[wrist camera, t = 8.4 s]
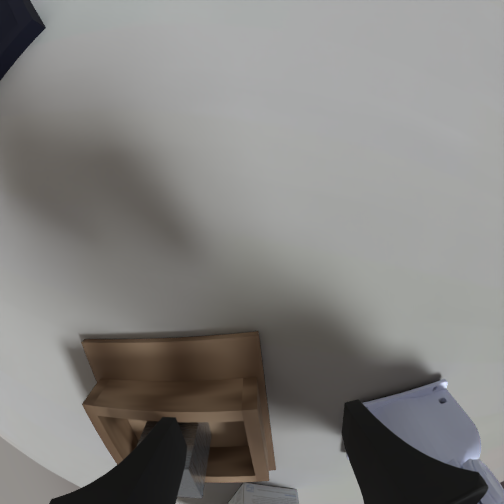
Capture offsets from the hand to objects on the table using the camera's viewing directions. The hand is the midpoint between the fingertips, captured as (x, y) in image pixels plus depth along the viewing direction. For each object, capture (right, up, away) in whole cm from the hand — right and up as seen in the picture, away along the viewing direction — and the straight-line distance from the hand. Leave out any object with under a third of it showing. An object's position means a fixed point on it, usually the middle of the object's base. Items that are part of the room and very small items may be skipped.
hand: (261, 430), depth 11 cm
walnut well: (-6, -7, +11) cm, 14 cm away
